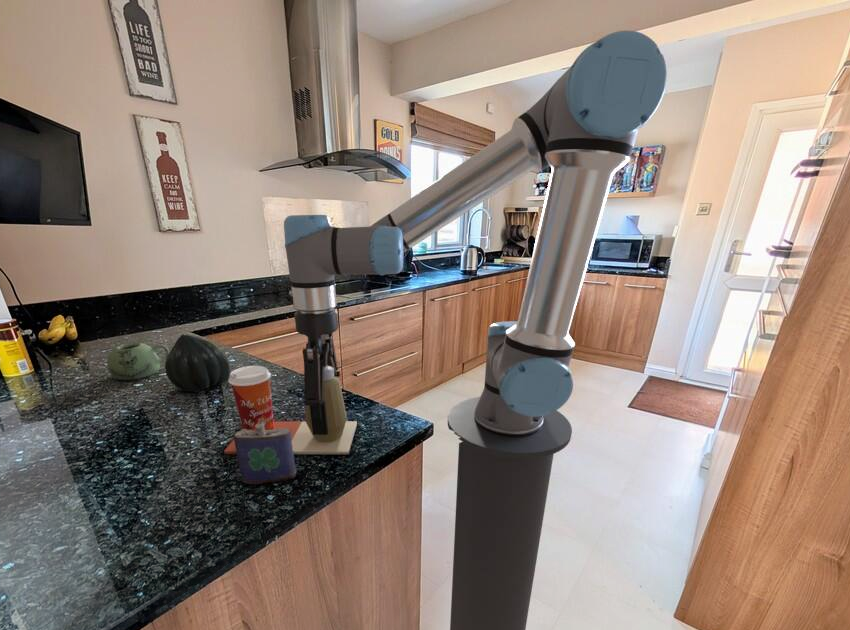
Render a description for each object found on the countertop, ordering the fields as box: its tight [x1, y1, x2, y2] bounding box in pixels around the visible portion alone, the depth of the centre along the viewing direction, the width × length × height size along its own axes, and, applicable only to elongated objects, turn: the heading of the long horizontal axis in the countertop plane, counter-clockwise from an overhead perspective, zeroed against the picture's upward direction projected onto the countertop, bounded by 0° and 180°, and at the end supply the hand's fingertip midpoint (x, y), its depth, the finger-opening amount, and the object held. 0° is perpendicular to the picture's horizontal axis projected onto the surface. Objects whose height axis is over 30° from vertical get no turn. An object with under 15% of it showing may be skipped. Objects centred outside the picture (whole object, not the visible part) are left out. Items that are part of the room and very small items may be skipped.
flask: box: [233, 422, 297, 484], centre depth 66 cm, size 9×3×11 cm, turn 96°
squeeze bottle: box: [305, 366, 348, 442], centre depth 76 cm, size 8×8×18 cm
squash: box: [164, 333, 231, 393], centre depth 104 cm, size 14×15×15 cm
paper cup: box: [228, 365, 275, 431], centre depth 77 cm, size 8×8×14 cm
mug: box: [106, 342, 170, 381], centre depth 114 cm, size 16×13×9 cm
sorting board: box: [223, 420, 358, 455], centre depth 80 cm, size 24×12×1 cm, turn 88°
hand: (327, 419), depth 78 cm, fingers open, 11 cm apart
